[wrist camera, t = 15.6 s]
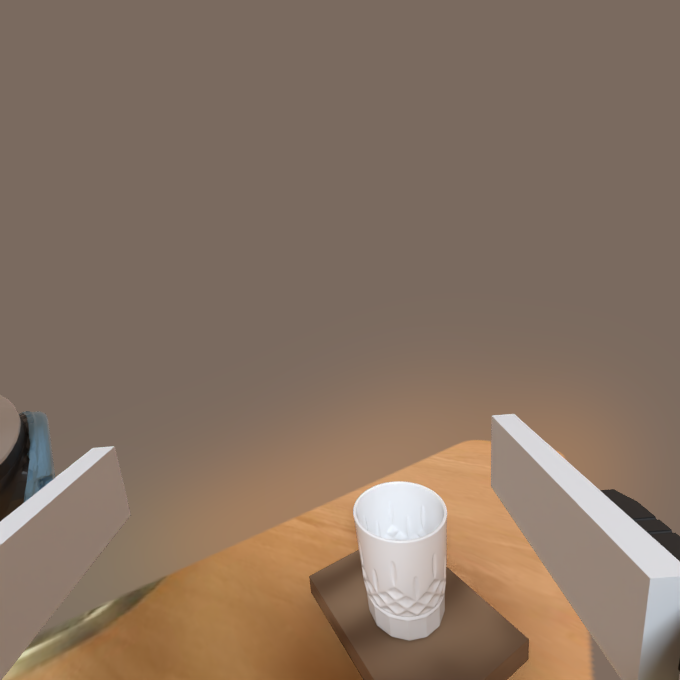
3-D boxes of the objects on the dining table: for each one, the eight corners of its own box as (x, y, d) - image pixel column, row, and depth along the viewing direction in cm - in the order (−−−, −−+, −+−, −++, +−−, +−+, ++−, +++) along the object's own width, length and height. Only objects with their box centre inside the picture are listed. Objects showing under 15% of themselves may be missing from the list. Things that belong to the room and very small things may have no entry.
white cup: (350, 587, 36) (340, 496, 34) (420, 559, 39) (414, 472, 37) (387, 666, 29) (377, 556, 27) (470, 624, 31) (467, 521, 29)
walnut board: (311, 592, 38) (309, 576, 38) (402, 541, 44) (401, 527, 44) (415, 765, 25) (413, 742, 24) (528, 659, 30) (528, 639, 30)
